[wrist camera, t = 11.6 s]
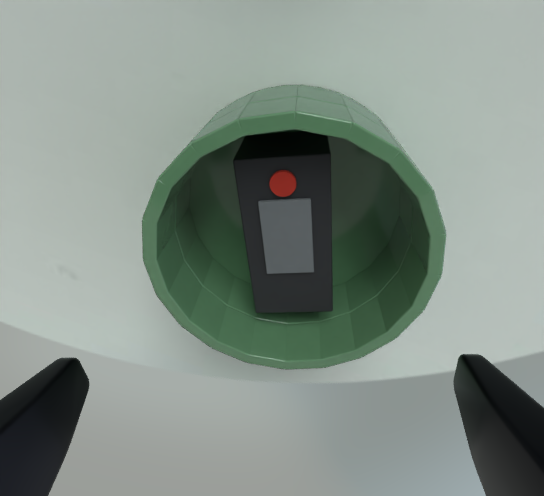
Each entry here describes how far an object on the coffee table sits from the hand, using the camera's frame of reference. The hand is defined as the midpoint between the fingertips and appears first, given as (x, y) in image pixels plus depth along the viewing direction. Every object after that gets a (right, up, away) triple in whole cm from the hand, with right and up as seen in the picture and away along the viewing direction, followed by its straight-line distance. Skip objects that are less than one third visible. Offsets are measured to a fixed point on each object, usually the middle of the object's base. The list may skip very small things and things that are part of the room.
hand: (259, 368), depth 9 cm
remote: (+1, +5, +7) cm, 9 cm away
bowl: (+1, +5, +8) cm, 9 cm away
